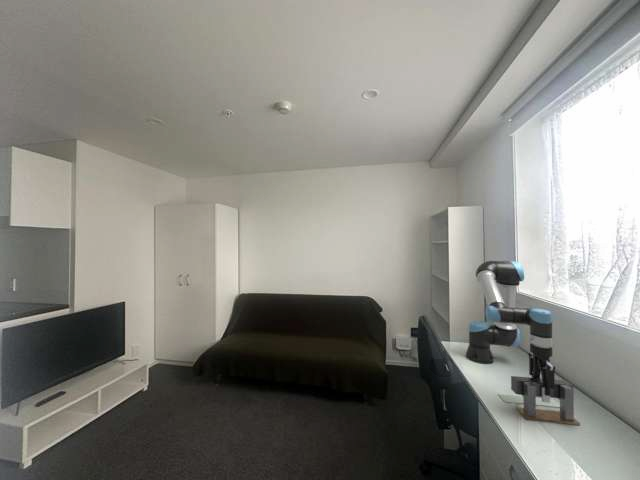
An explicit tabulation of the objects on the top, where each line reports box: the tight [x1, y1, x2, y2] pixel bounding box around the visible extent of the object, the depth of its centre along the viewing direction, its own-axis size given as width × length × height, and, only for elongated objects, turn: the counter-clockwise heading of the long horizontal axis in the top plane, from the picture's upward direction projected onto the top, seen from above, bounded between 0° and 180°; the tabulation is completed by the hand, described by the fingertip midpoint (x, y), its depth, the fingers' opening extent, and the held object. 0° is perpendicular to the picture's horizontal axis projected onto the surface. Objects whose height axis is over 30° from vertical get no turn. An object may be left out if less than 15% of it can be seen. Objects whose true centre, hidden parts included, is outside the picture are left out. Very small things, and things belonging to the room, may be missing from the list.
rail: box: [510, 375, 575, 399], centre depth 113 cm, size 4×22×6 cm, turn 81°
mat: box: [497, 393, 560, 409], centre depth 121 cm, size 6×24×1 cm, turn 81°
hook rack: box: [515, 382, 581, 426], centre depth 112 cm, size 10×20×14 cm, turn 81°
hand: (541, 398), depth 113 cm, fingers open, 5 cm apart
